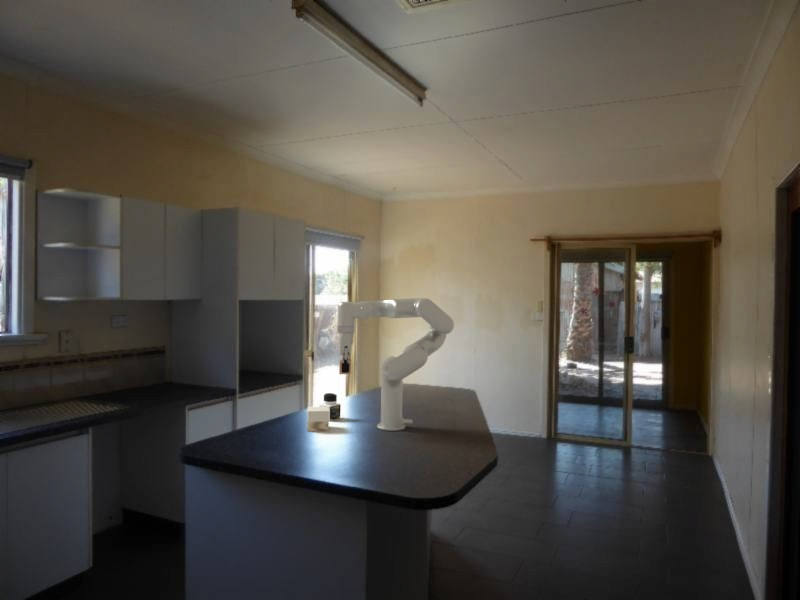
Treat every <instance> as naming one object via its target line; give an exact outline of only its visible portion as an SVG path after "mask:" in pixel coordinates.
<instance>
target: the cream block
mask: <svg viewBox="0 0 800 600" xmlns="http://www.w3.org/2000/svg"><path fill="white" fill-rule="evenodd" d="M307 421H308V422H330V421H329V408H328V407H320V406H307Z"/></svg>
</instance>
